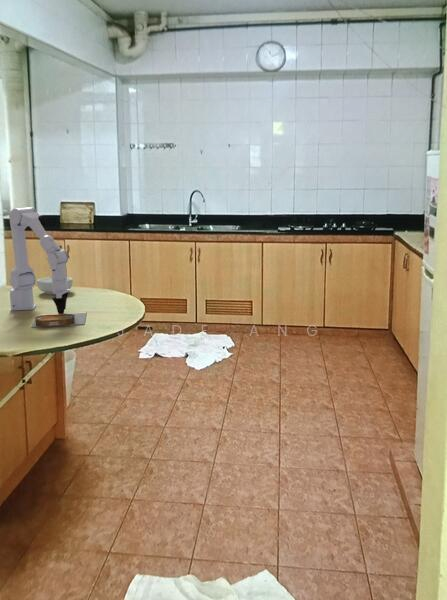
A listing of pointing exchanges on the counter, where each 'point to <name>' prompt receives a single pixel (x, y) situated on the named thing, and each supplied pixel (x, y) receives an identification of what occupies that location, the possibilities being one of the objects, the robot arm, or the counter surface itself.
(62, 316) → the tin
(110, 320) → the counter surface
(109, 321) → the counter surface
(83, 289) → the counter surface
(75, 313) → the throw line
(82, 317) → the mat
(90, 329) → the counter surface
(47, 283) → the cereal bowl
